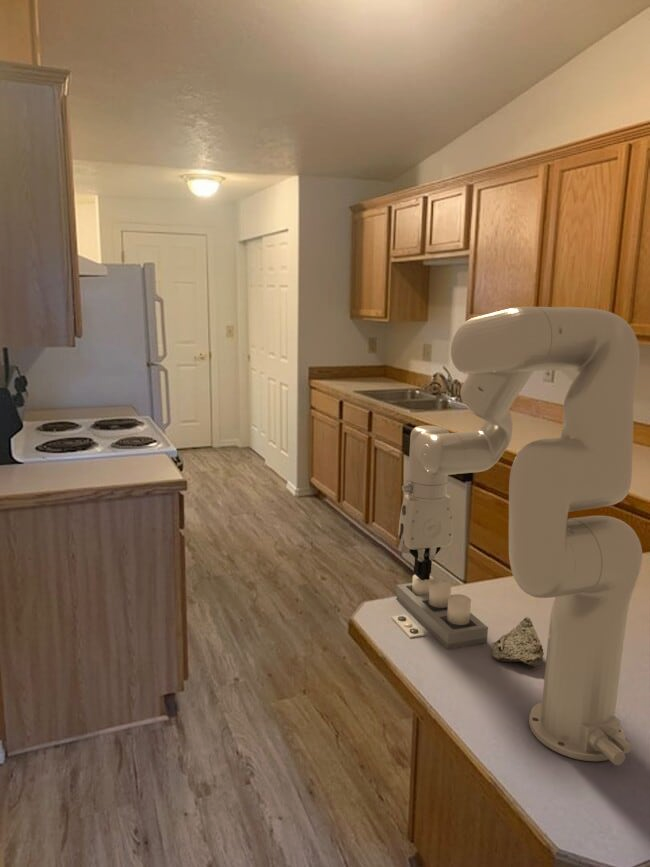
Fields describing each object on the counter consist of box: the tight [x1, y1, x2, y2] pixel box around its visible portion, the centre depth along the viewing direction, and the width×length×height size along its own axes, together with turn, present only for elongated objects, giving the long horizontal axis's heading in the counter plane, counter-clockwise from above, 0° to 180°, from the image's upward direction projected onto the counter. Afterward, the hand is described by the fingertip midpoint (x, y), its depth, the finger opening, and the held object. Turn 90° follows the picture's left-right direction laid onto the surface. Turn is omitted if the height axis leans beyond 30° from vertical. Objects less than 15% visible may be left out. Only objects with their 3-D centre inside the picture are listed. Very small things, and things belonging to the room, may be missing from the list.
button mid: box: [429, 578, 452, 608], centre depth 123 cm, size 4×4×4 cm
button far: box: [411, 574, 434, 596], centre depth 130 cm, size 4×4×4 cm
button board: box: [395, 582, 489, 650], centre depth 124 cm, size 21×8×3 cm, turn 19°
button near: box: [447, 593, 472, 625], centre depth 117 cm, size 4×4×4 cm
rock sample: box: [491, 616, 545, 667], centre depth 111 cm, size 10×8×9 cm
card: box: [391, 614, 426, 639], centre depth 121 cm, size 8×3×1 cm, turn 19°
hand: (422, 577), depth 130 cm, fingers closed
